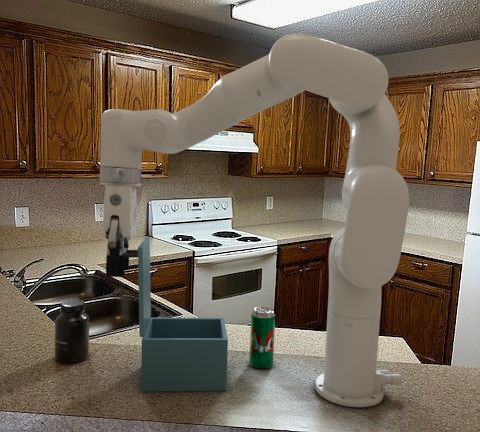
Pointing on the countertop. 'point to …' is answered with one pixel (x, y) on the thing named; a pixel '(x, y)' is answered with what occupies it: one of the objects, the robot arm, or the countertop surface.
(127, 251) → the teal box lid
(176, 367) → the teal box
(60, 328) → the supplement bottle
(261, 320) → the soda can
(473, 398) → the countertop surface
